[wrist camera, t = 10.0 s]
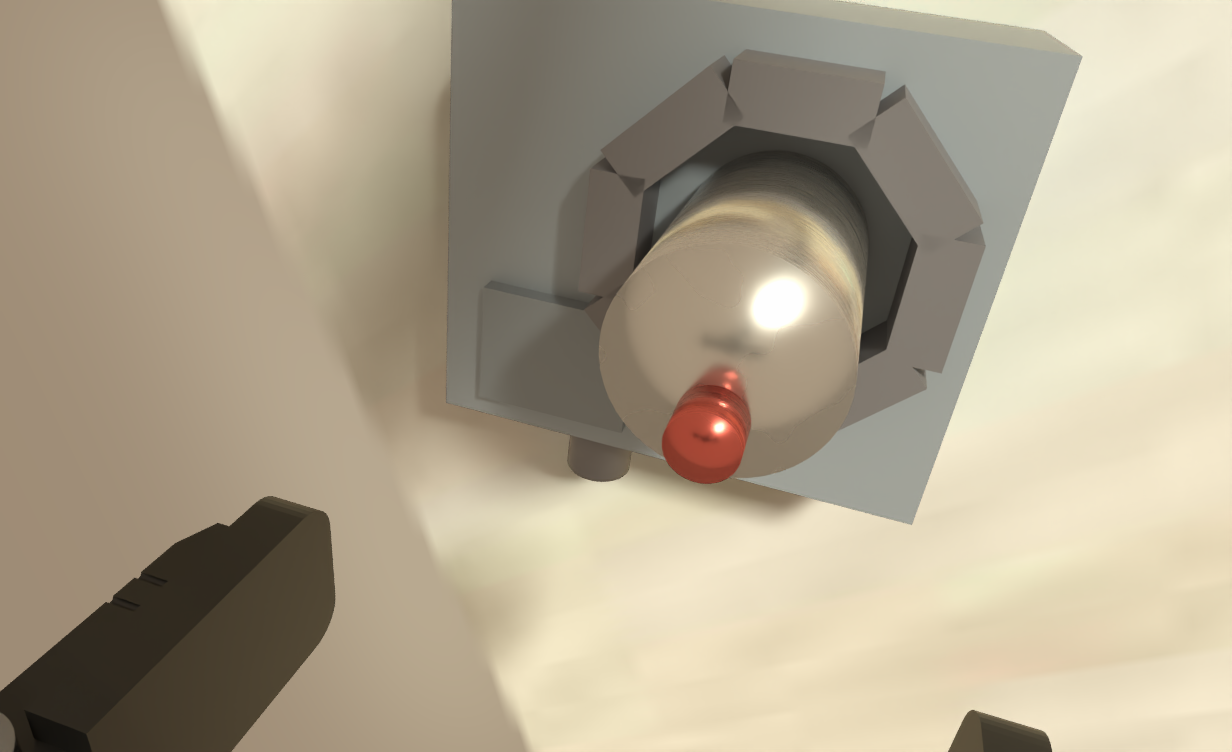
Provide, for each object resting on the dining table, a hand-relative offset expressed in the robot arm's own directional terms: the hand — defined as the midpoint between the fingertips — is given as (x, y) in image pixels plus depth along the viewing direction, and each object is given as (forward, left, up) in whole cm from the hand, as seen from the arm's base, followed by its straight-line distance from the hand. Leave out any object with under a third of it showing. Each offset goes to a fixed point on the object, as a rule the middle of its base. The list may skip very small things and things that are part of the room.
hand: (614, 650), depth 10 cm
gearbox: (+3, -2, -22) cm, 22 cm away
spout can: (0, 0, -16) cm, 16 cm away
